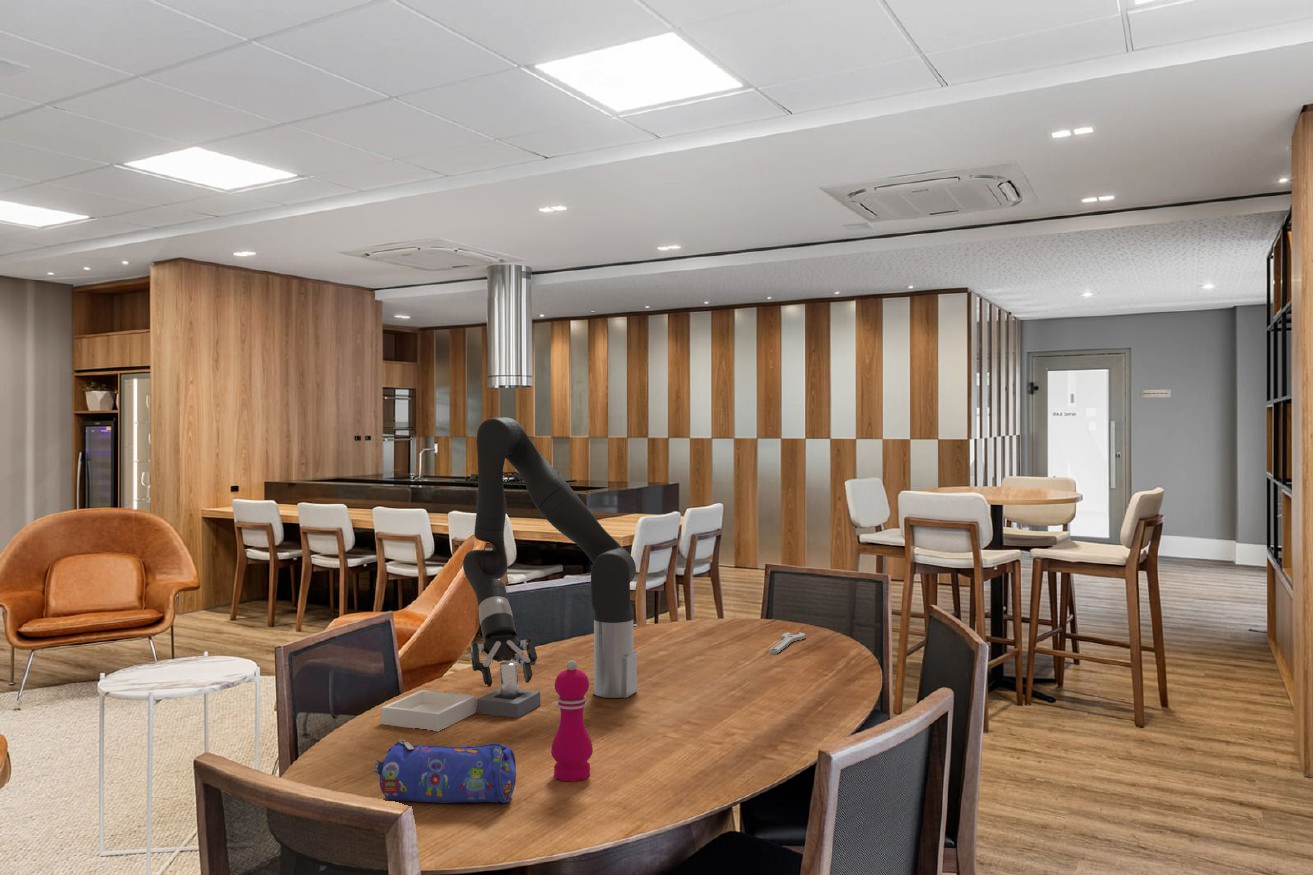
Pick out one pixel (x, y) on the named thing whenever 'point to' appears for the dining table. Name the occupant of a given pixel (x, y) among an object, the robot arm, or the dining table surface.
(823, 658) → the dining table surface
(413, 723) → the tray
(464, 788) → the pencil case
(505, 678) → the pin
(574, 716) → the pepper mill
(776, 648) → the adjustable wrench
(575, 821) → the dining table surface
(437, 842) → the dining table surface
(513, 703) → the socket block
